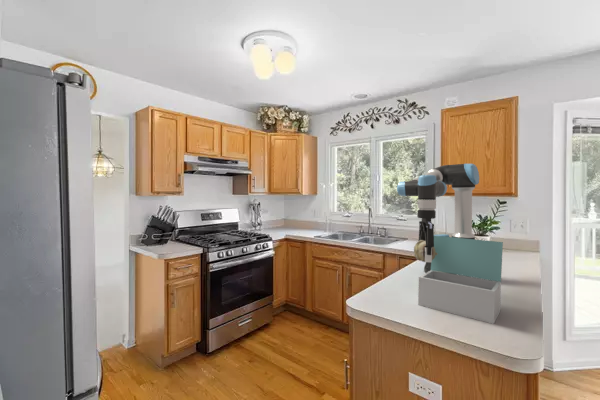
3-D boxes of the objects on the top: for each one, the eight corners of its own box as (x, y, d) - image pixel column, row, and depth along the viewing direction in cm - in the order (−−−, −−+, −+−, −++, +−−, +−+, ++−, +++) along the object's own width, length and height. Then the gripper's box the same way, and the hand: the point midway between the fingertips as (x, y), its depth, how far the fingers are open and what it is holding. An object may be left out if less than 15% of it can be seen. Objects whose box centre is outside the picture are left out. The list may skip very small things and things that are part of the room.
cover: (430, 269, 135) (431, 269, 137) (500, 281, 118) (501, 281, 119) (433, 235, 137) (434, 235, 139) (502, 242, 119) (503, 242, 121)
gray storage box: (430, 295, 136) (431, 270, 136) (500, 310, 118) (500, 282, 118) (418, 304, 124) (418, 277, 124) (493, 323, 106) (494, 291, 106)
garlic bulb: (414, 265, 133) (406, 244, 134) (425, 260, 137) (418, 239, 139) (431, 263, 125) (423, 240, 126) (443, 257, 129) (435, 236, 131)
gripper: (412, 208, 142) (411, 255, 142) (424, 210, 122) (423, 264, 122) (428, 208, 141) (427, 255, 141) (443, 210, 121) (442, 265, 121)
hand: (425, 260), depth 132 cm, fingers closed on garlic bulb, 7 cm apart
